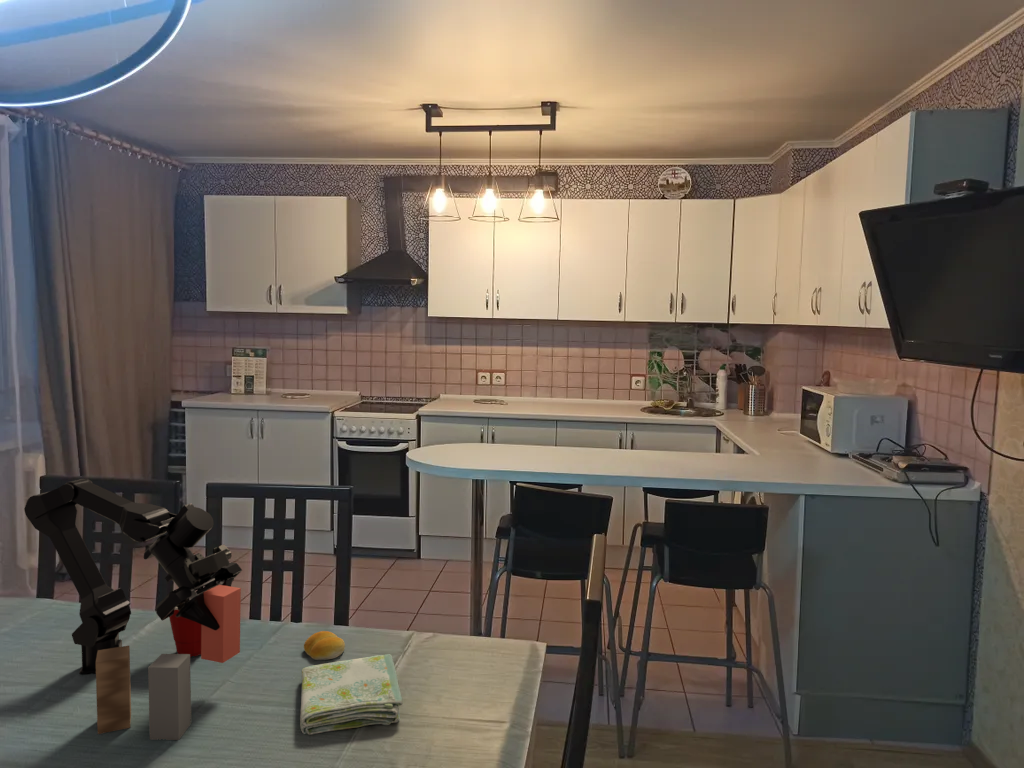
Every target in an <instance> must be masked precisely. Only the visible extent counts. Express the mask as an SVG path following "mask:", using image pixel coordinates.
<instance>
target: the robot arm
mask: <svg viewBox="0 0 1024 768" xmlns="http://www.w3.org/2000/svg"><path fill="white" fill-rule="evenodd" d="M77 505H79V506H81V507H83V508H86V509H87V510H90V511H91V512H93V513H95V514H98V515H100V516H102V517H103V518H106V519H108V520H110V521H111V522H114V523H116V524H117V525H118V526H119V528H120V530H121V532H122V533H123V534H124V535H125V536H127V537H129V538H130V539H131V540H133V541H134V542H137V543H144V542H147V541H150V540H151V539H154V538H157V539H155V541H154V542H151V543H148V544H146V545H145V548H144V549H145V550H144V553H143V559H144V560H148V559H151V558H153V557H154V558H155V559H156V561H157V562H158V564H160V565H161V567H162V569H164V571H165V572H166V573H167V574H166V576H165V577H164V579H165V580H166V582H167V583H170V582H171V581H173V583H174V585H176V586H177V588H176V589H173V590H172V591H169V593H168V594H166V595H165V597H164V598H163V599H162V600H161V601H160V602H159V603H158V604H156V606H155V613H156V615H157V616H158V618H159V619H160V620H161V621H163V622H164V620H167V619H168V618H169V617H170V616H172V615H173V614H174V609H175V607H178V608H177V609H178V610H179V612H178V613H177V614H176V615H175V616H176V617H183V618H186V619H189V620H192V621H195V622H197V623H199V624H202V625H204V626H206V627H208V628H211V629H213V630H218V629H219V628H220V626H219V624H218V622H217V620H216V619H215V618H214V616H213V615H212V613H211V612H210V610H209V609H208V608H207V606H206V605H205V603H204V593H203V592H205V591H207V590H209V589H211V588H214V587H216V586H218V585H224V586H230V587H232V584H233V581H234V580H235V579H236V578H237V576H238V575H240V574H241V573H242V571H243V569H242V568H241V566H240V565H239V564H238V563H237V562H230V561H229V560H230V559H231V558H232V551H230V549H229V548H228V547H227V546H226V545H225V544H221V545H218V546H216V547H214V548H213V549H212V554H209V555H207V556H205V557H204V555H203V554H202V553H199V552H198V553H195V554H194V553H193V551H192V550H191V548H193V547H195V546H196V545H197V544H198V543H199V542H200V541H201V540H202V539H203V538H204V537H205V536H206V535H207V534H208V533H209V531H210V530H212V528H213V527H214V518H213V517H212V515H211V513H209V512H207V511H206V510H204V509H203V508H200V507H196V506H194V504H193V503H188V504H184V505H183V506H182V507H181V508H180V509H179V511H178V513H177V514H176V513H173V512H170V511H168V509H166V507H164V506H159V505H155V504H152V503H140V502H139V503H138V502H135V501H131V500H129V499H127V498H125V497H123V496H120V495H118V494H117V493H114V492H113V491H110V490H108V489H106V488H104V487H103V486H102V487H101V486H99V485H97V484H95V483H94V482H93V481H92V480H91V479H88V478H80V479H76V480H72V481H71V480H70V481H68V482H65V484H62V485H61V486H60V487H59V486H58V487H57V488H55V489H53V490H50V491H46V492H42V493H38V494H34V495H32V496H30V497H28V499H27V500H26V504H25V505H24V509H23V511H24V514H25V517H26V518H27V519H28V520H29V523H31V525H32V526H33V528H34V529H35V530H37V531H39V532H41V534H44V535H45V536H47V537H48V538H49V539H50V541H51V544H53V547H54V549H55V551H56V552H57V555H58V557H59V558H60V560H61V562H62V564H63V566H64V568H65V570H66V571H67V573H68V576H69V578H70V580H71V581H72V583H73V585H74V587H75V589H76V591H77V594H78V595H79V597H80V606H79V608H80V609H79V617H80V621H81V624H80V625H79V626H78V627H76V629H74V631H73V632H72V633H71V638H72V640H73V643H74V644H75V645H78V646H79V645H80V646H81V667H80V669H79V675H83V674H94V673H95V674H96V658H97V652H98V650H103V649H110V648H116V647H123V640H122V639H120V636H119V635H120V633H121V632H124V631H125V630H126V628H127V625H128V623H129V621H130V619H131V618H130V617H131V615H132V610H131V607H130V605H131V602H130V601H129V600H128V599H127V597H126V595H125V592H124V590H123V588H121V587H119V588H116V589H113V588H112V587H110V586H108V585H107V583H106V581H105V579H104V578H103V575H102V573H101V572H100V570H99V568H98V566H97V564H96V562H95V560H94V558H93V556H92V555H91V552H90V550H89V548H88V547H87V545H86V543H85V541H84V539H83V537H82V536H81V533H80V532H79V529H78V528H77V524H76V523H77V517H78V516H77V515H78V509H77Z"/></svg>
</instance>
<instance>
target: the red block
mask: <svg viewBox="0 0 1024 768" xmlns="http://www.w3.org/2000/svg"><path fill="white" fill-rule="evenodd" d="M203 593H204V603H205V605H206V606H207V608H208V609H209V610H210V612H211V613H212V615H213V616H214V618H215V619H216V620H217V622H218V624H219V626H220V628H219V629H218V630H213V629H211V628H208V627H206V626H204V625H201V654H200V659H201V660H207V661H210V662H215V663H219V664H220V663H221V664H224V663H225V662H227V661H229V660H230V659H232V658H234V657H235V656H237V655H238V654H240V652H241V610H242V609H241V604H242V603H241V602H242V601H241V599H242V597H241V595H242V588H241V587H236V586H231V587H230V586H224V585H218V586H216V587H214V588H211V589H209V590H207V591H205V592H203Z"/></svg>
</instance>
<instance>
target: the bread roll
mask: <svg viewBox="0 0 1024 768" xmlns="http://www.w3.org/2000/svg"><path fill="white" fill-rule="evenodd" d="M303 648H304V652H305V653H306V655H308V656H309V657H310V658H311V659H313V660H315V661H327V660H332V659H336V658H338V657H339V656H341V655H342V653H343V652H344V651H345V649H346V644H345V641H344V639H343V638H341V637H339V636H337V634H336V633H333V632H332V631H327V630H321V631H318V632H314V633H313V634H312V635H310V636H309V637H308V638H307V639H306V640H305V642H303Z"/></svg>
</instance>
